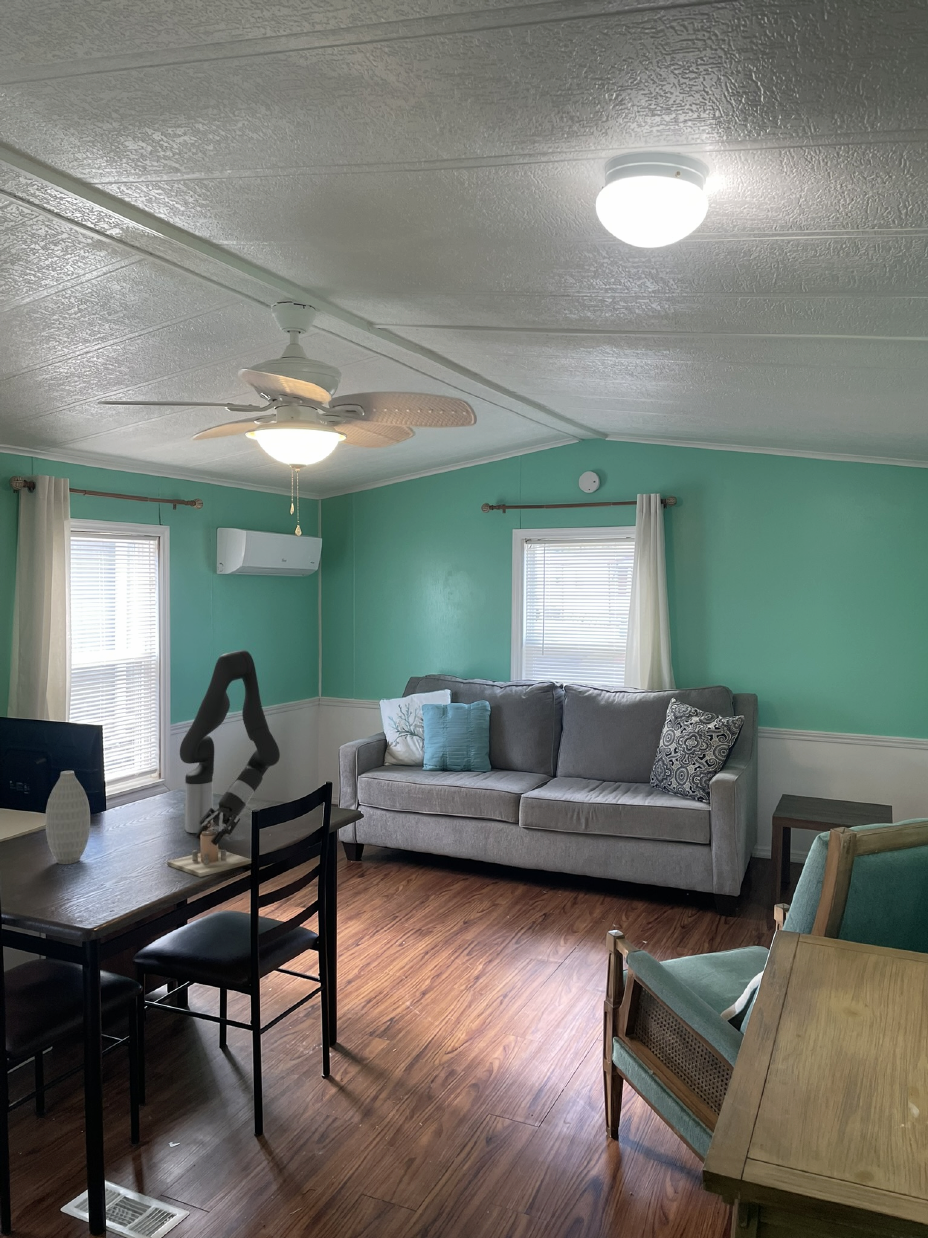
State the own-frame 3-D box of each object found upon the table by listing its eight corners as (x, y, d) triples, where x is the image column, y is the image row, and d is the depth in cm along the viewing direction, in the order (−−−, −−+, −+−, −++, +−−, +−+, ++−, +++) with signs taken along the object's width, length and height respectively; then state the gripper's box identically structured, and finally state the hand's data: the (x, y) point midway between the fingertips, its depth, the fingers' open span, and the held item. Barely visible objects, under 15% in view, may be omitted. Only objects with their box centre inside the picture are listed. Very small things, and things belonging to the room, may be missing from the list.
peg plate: (167, 865, 279) (167, 851, 279) (217, 852, 292) (217, 839, 292) (200, 877, 267) (200, 862, 267) (251, 863, 281) (251, 849, 281)
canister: (197, 860, 280) (197, 832, 279) (212, 856, 283) (211, 828, 283) (207, 863, 276) (206, 834, 276) (221, 859, 280) (221, 831, 280)
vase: (46, 858, 286) (45, 769, 286) (90, 854, 291) (89, 766, 291) (45, 869, 275) (44, 777, 274) (90, 864, 280) (89, 773, 279)
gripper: (216, 787, 290) (184, 830, 281) (242, 794, 280) (211, 838, 272) (230, 801, 294) (199, 844, 285) (257, 808, 284) (226, 852, 276)
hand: (205, 841), depth 279 cm, fingers open, 8 cm apart
